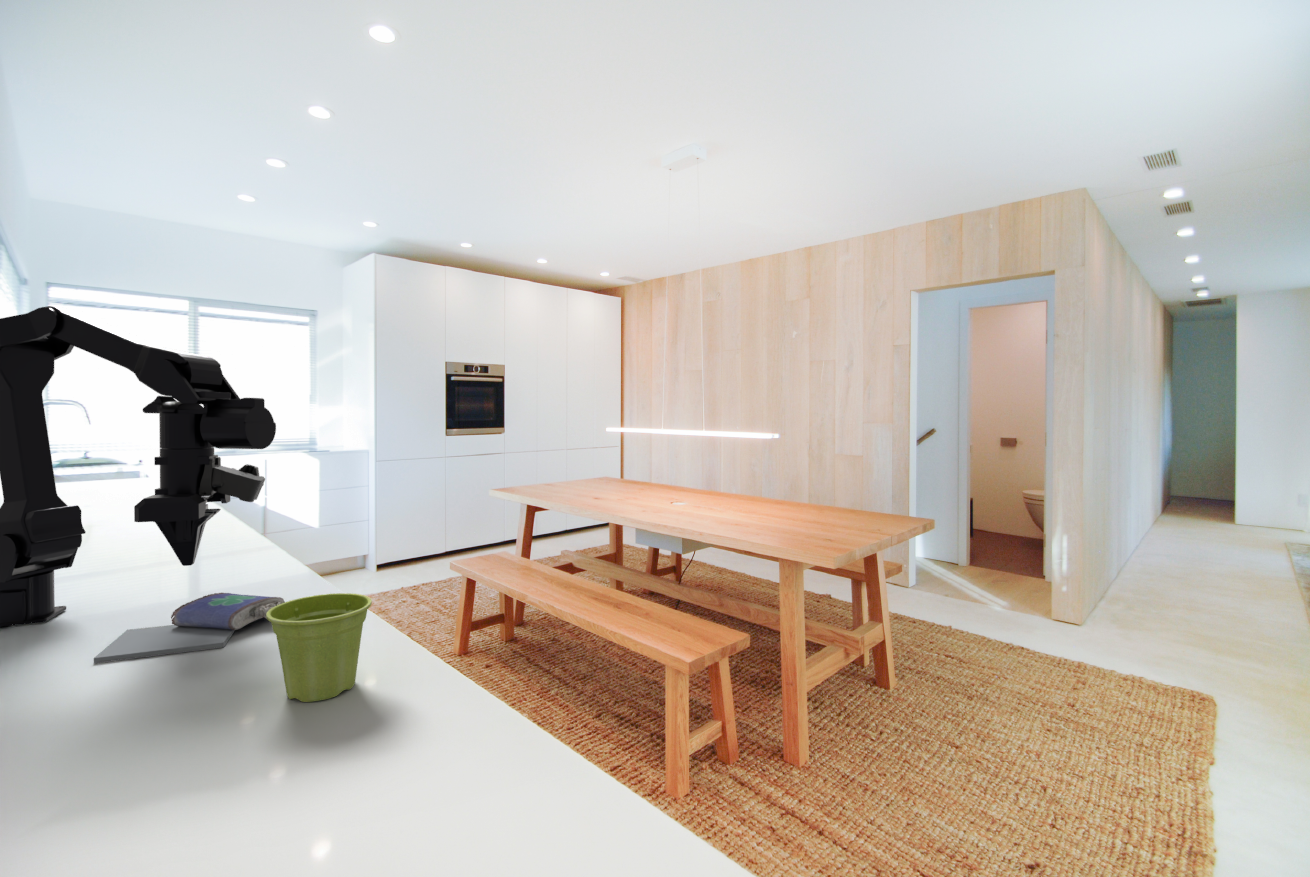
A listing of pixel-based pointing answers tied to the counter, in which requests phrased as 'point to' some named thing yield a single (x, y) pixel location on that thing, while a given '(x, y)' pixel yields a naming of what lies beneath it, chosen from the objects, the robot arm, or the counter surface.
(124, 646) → the serving mat
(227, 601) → the flask
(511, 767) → the counter surface
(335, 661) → the plant pot
